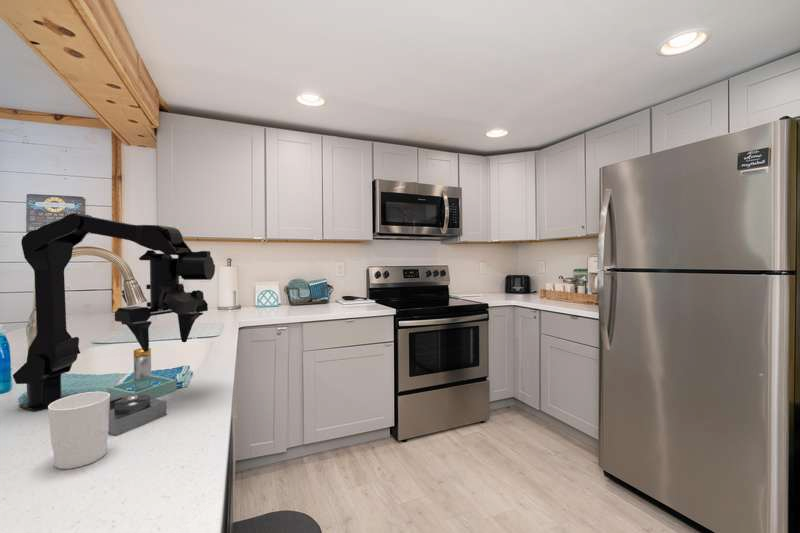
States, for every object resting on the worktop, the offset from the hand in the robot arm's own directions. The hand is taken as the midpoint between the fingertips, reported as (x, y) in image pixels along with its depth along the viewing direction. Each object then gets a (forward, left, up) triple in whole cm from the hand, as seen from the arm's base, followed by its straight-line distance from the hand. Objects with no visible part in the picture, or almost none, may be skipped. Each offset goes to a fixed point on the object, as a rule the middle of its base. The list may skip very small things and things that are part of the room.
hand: (165, 346), depth 86 cm
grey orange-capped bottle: (-10, +1, -12) cm, 16 cm away
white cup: (+10, -22, -13) cm, 28 cm away
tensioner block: (+1, -10, -13) cm, 16 cm away
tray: (-10, +1, -13) cm, 16 cm away
